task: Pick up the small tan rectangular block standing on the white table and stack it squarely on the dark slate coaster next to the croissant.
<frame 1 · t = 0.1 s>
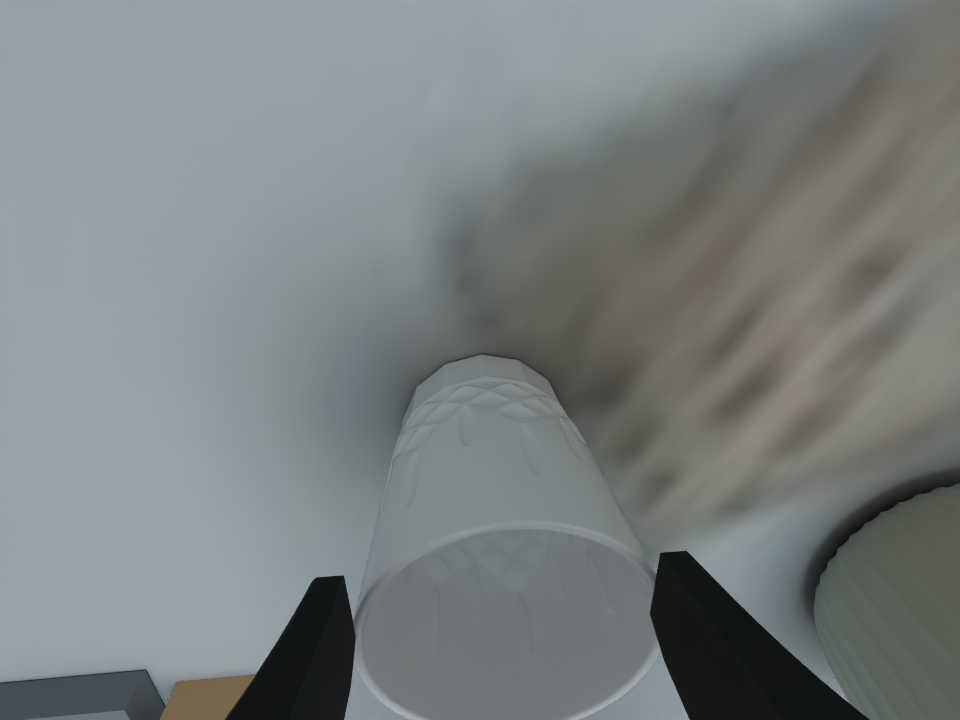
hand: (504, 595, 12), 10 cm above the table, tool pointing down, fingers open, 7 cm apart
tan rectangular block: (230, 701, 28), on the table
white cup: (483, 422, 22), on the table
canister: (914, 559, 27), on the table
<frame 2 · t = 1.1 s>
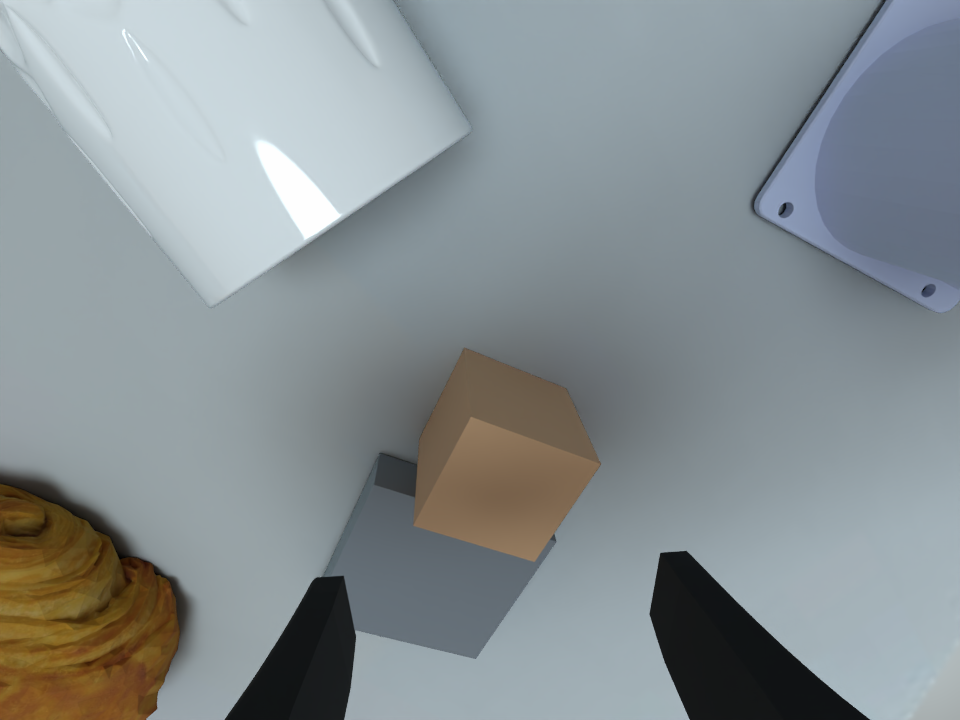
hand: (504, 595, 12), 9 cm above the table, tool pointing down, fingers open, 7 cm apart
croissant: (32, 600, 24), on the table
tan rectangular block: (491, 413, 21), on the table
slate coaster: (431, 545, 23), on the table
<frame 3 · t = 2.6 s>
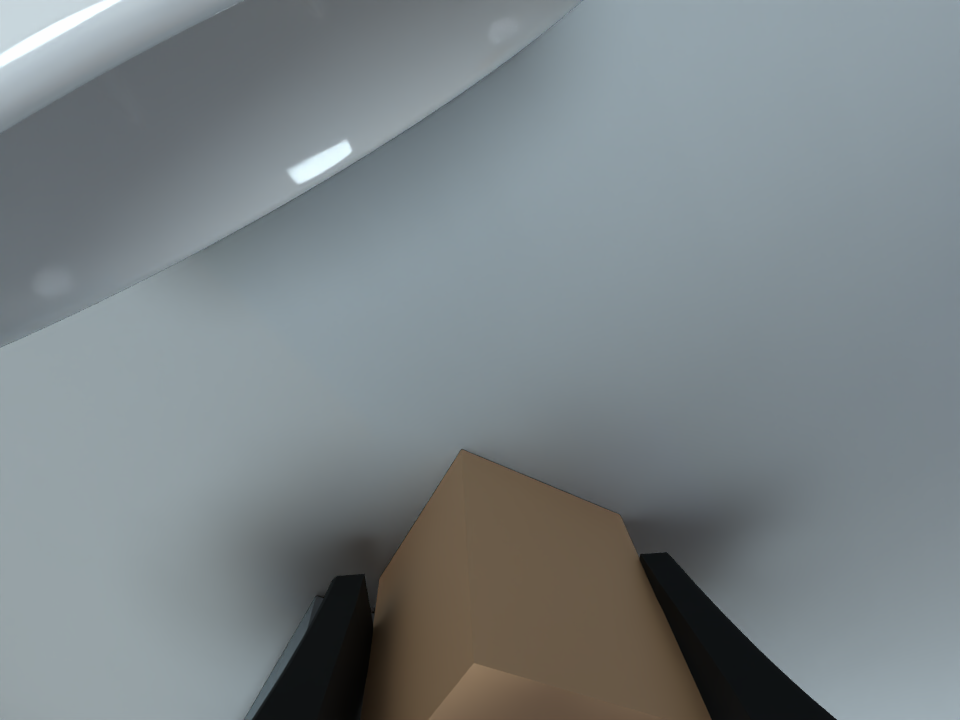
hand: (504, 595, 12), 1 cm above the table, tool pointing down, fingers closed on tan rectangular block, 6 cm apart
tan rectangular block: (497, 547, 13), on the table, touching gripper
slate coaster: (392, 716, 16), on the table
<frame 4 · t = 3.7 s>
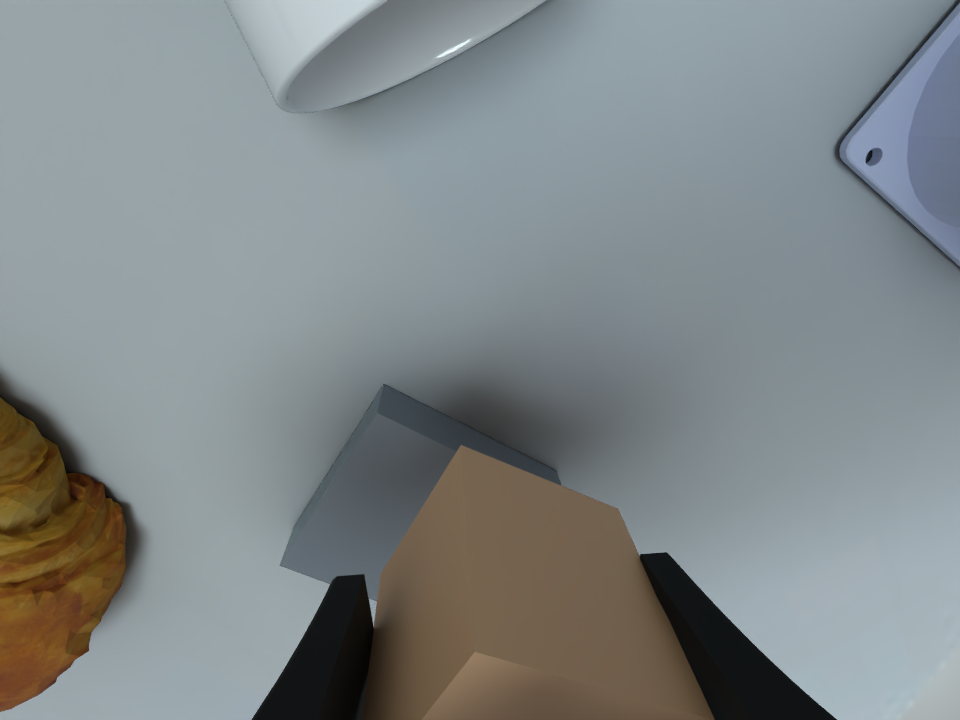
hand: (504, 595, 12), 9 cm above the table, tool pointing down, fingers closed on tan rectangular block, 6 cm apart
tan rectangular block: (497, 541, 13), point 7 cm above the table, touching gripper
slate coaster: (423, 499, 21), on the table
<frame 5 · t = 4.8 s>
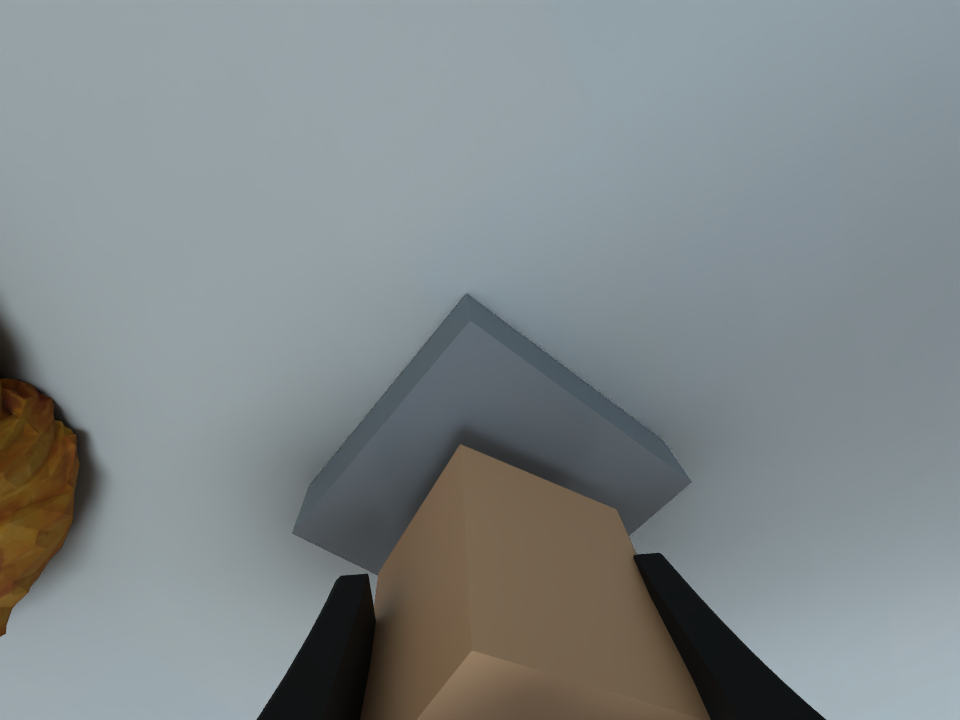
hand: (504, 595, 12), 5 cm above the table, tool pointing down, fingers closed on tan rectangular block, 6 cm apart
tan rectangular block: (495, 541, 13), point 3 cm above the table, touching gripper
slate coaster: (487, 463, 16), on the table
when the fingers open (5 cm above the table, at t = 5.3 s): tan rectangular block drops 1 cm, resting on slate coaster.
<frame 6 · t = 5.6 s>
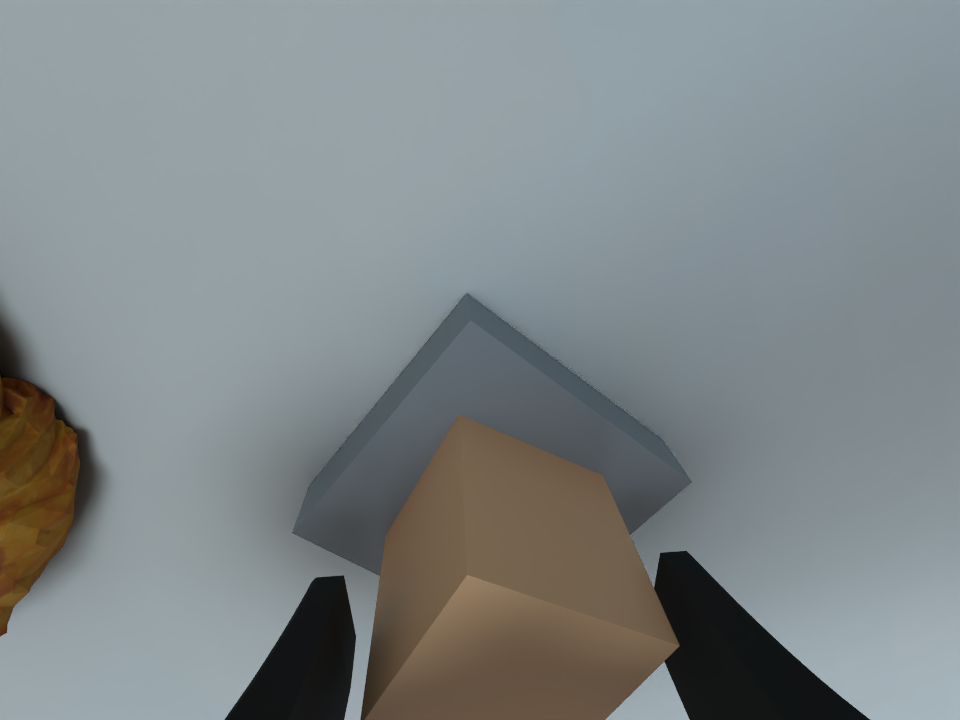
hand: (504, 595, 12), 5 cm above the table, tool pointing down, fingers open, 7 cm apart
tan rectangular block: (492, 506, 14), point 2 cm above the table, touching slate coaster
slate coaster: (487, 463, 16), on the table
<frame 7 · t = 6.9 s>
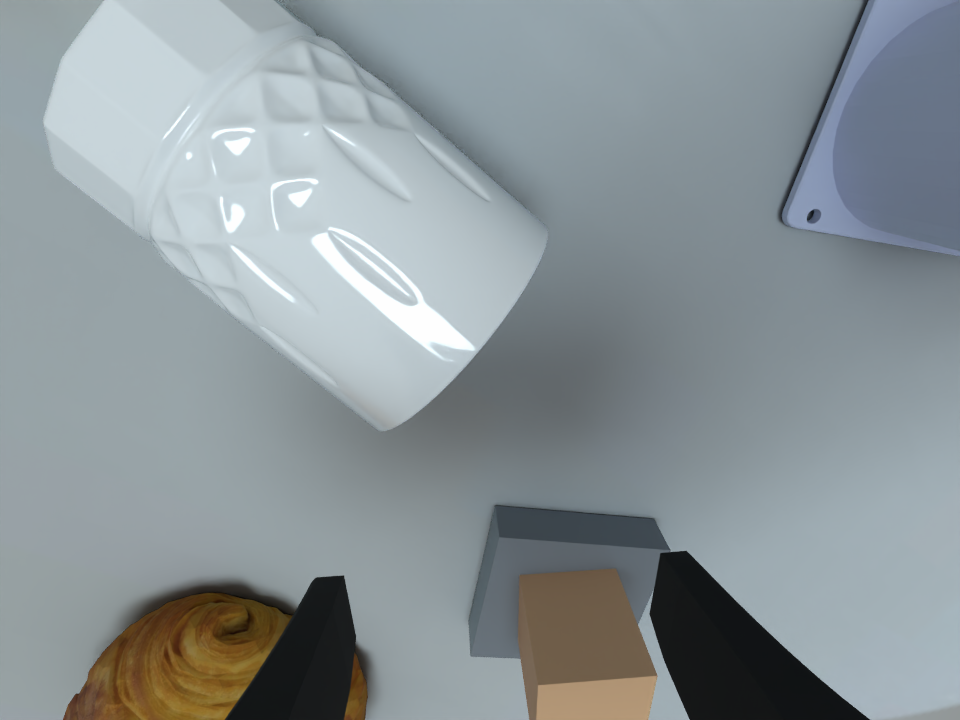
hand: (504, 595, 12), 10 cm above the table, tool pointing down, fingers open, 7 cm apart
croissant: (244, 677, 29), on the table
tan rectangular block: (565, 605, 24), point 2 cm above the table, touching slate coaster
white cup: (148, 69, 13), point 3 cm above the table
slate coaster: (557, 572, 26), on the table
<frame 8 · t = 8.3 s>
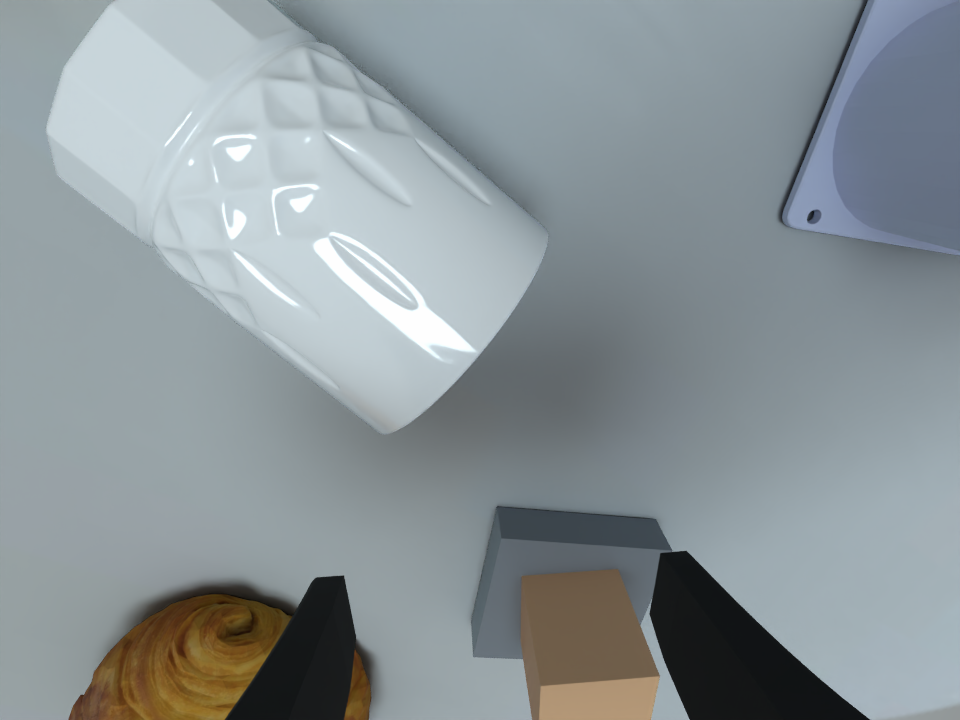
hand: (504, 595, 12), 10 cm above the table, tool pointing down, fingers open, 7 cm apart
croissant: (248, 678, 29), on the table
tan rectangular block: (567, 606, 24), point 2 cm above the table, touching slate coaster
white cup: (150, 76, 13), point 3 cm above the table
slate coaster: (559, 572, 26), on the table
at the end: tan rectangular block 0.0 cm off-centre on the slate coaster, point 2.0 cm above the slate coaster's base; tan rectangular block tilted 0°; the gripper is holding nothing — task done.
